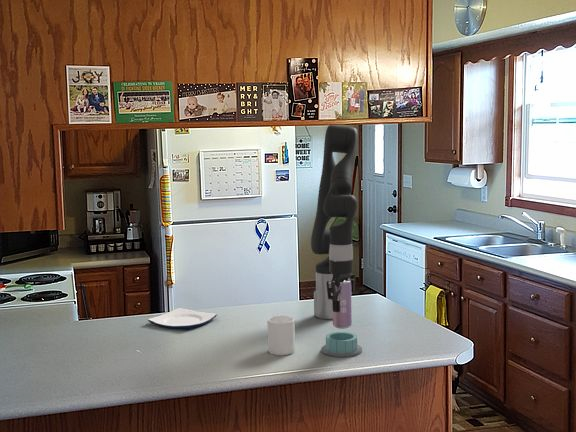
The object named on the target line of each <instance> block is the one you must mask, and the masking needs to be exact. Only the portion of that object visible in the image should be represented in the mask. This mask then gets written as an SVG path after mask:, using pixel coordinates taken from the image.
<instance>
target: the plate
mask: <svg viewBox="0 0 576 432" xmlns="http://www.w3.org/2000/svg"><path fill="white" fill-rule="evenodd" d="M217 316H218V313H217V312H216V313H214V312H203V311H198V310H191V309H188V308H187V309H186V308H184V307H178V308H176V309H173V310H171V311H169V312H166V313H164V314H160V315H158V316H154V317H151V318H147V321H148V322H149V323H151V324H154V325H156V326H159V327H162V328H166V329H172V330H173V329H174V330H175V329H176V330H187V329H188V330H189V329H194V328H197V327H200V326H202V325H203V326H204V325H205V324H207V323H209V322H210V321H212V320H214V319H215V318H216V317H217Z"/></svg>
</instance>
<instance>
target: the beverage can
mask: <svg viewBox="0 0 576 432" xmlns="http://www.w3.org/2000/svg"><path fill="white" fill-rule="evenodd" d="M342 283H343V285H342ZM341 286H342V294H340V299H339V301H340V312H333V319H332V326H333V327H334V328H336V329H349V328H351V327H352V324H353V323H352V321H353V319H352V310H353V309H352V295H351V289H352V285H351V280H350V281H346V282H340V286H339V287H337V286H336V287H335V288H336V290H337V291H339V290H340V287H341ZM336 297H337V293H336Z"/></svg>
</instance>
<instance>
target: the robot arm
mask: <svg viewBox="0 0 576 432" xmlns="http://www.w3.org/2000/svg"><path fill="white" fill-rule="evenodd" d="M358 133H359V132H358V129H357V128H355V127H353V126H347V125H337V124H330V125H328V126H327V128H326V131H325V135H324V144H323V145H324V147H323V160H322V169H321V176H320V181H319V187H318V188H319V189H318V194H317V205H316V213H315V218H314V222H313V228H312V232H311V237H310V248H311V251H312V253H313V254H315V255H328V256H327V257H326V258H325V259H324V260H321V261H319V262H317V264H316V265H315V290H314V291H313V315H314V317H316V318H318V319H322V320H333V312H340V301H339V299H340V294H342V286H341V287H340V290H339V291H337V290H336V288H335V287H336V286H337V287H339V286H340V282H346V281H350V280H351V296H352V294H354V293H355V291H356V290H355V289H356V278H357V277H356V274H353V272H354V250H353V249H354V248H353V225H354V221H355V217H356V215H357V211H358V206H359V205H358V199H357V197H355V196H354V195H353V194H352V192H353V172H354V168H355V167H354V166H355V160H356V156H357V150H358V149H357V148H358V139H359V135H358ZM333 153H339V154H345V155H344V157H343V158H342V159H340V160H339V161H338V163H336V162H335V159H334V154H333ZM332 218H345V220H344V221H343V222H341V223H337V224H333V225H331V226H330V228H327V225H328V223H329V222H330V220H331V219H332ZM342 285H343V283H342ZM336 293H337V297H336Z"/></svg>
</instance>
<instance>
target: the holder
mask: <svg viewBox="0 0 576 432" xmlns="http://www.w3.org/2000/svg"><path fill="white" fill-rule="evenodd" d="M321 353H322V354H323V355H325V356H328V357H333V358H341V359H342V358H351V357H357V356H359V355H361V354H362V353H363V348H362V346H361V345H359V344H358V335H357V334H355V332H354V333H353V332H349V331H334V332H330V333H327V334H326V335H325V344H324V345H323V346H322V347H321Z"/></svg>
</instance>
